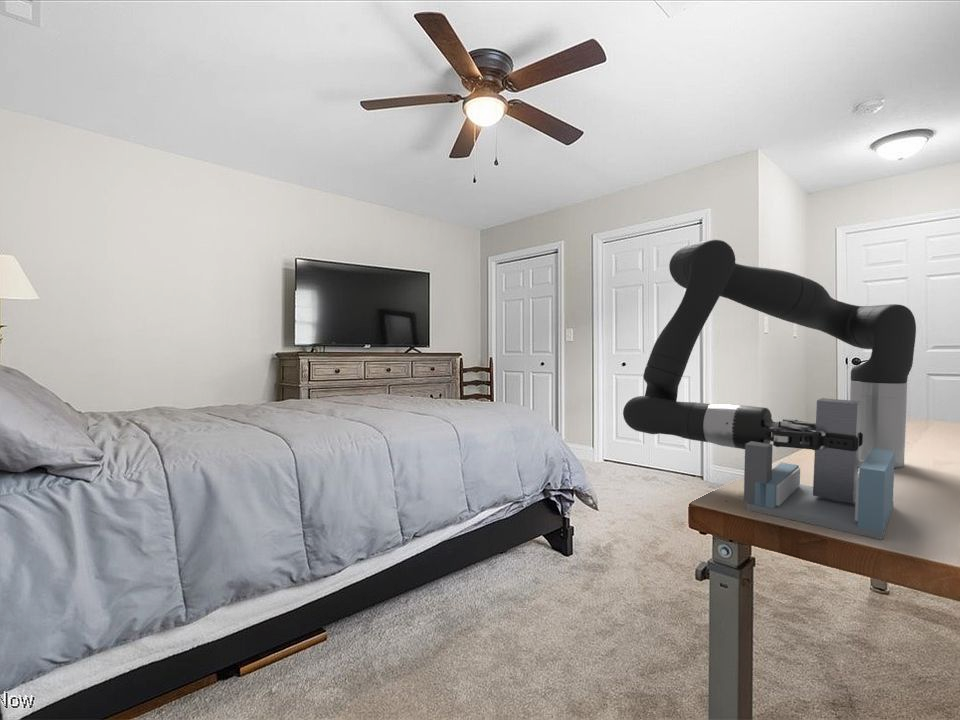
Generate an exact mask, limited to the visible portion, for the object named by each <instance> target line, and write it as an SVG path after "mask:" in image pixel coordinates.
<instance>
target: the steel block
mask: <svg viewBox="0 0 960 720" xmlns="http://www.w3.org/2000/svg"><path fill="white" fill-rule="evenodd" d="M815 413H816V414H815V416H816V417H815V423H816V431H824V432H827V436H828V433H834V434H842V435H850V436H857V437H858V438H859V434H860V414H861V401H851V400H850V399H836V398H823V397H821V398H819V399H817V400H816V412H815ZM858 456H859V448H858V450H857V451H847V450H840V449H833V448H827V446H826V449H820V448H819V450H814V460H813V461H814V462H813V482H812V487H813V496H818V497H823V498H828V499H833V500H838V501H843V502H848V503H853V502H854V501H855V499H856V477H857V475H858V474H859V470H858Z"/></svg>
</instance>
